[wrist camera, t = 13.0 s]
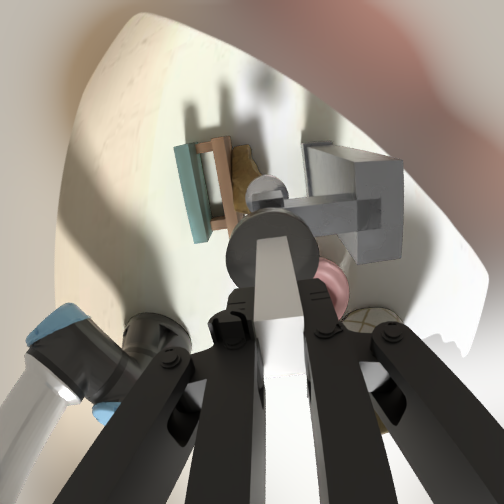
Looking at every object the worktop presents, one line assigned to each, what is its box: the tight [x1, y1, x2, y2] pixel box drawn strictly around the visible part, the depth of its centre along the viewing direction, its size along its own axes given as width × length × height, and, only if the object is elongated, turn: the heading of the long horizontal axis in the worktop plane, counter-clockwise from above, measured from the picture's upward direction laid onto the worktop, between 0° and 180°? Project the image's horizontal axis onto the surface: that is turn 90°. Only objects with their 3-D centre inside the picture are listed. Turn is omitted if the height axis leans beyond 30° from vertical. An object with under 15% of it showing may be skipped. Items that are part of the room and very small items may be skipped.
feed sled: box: [174, 136, 244, 244], centre depth 38 cm, size 7×14×8 cm, turn 9°
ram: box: [226, 175, 319, 288], centre depth 22 cm, size 5×5×16 cm
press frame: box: [252, 141, 404, 265], centre depth 30 cm, size 12×9×24 cm
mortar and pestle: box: [314, 257, 349, 320], centre depth 43 cm, size 12×12×11 cm
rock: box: [231, 145, 261, 214], centre depth 38 cm, size 11×9×10 cm
